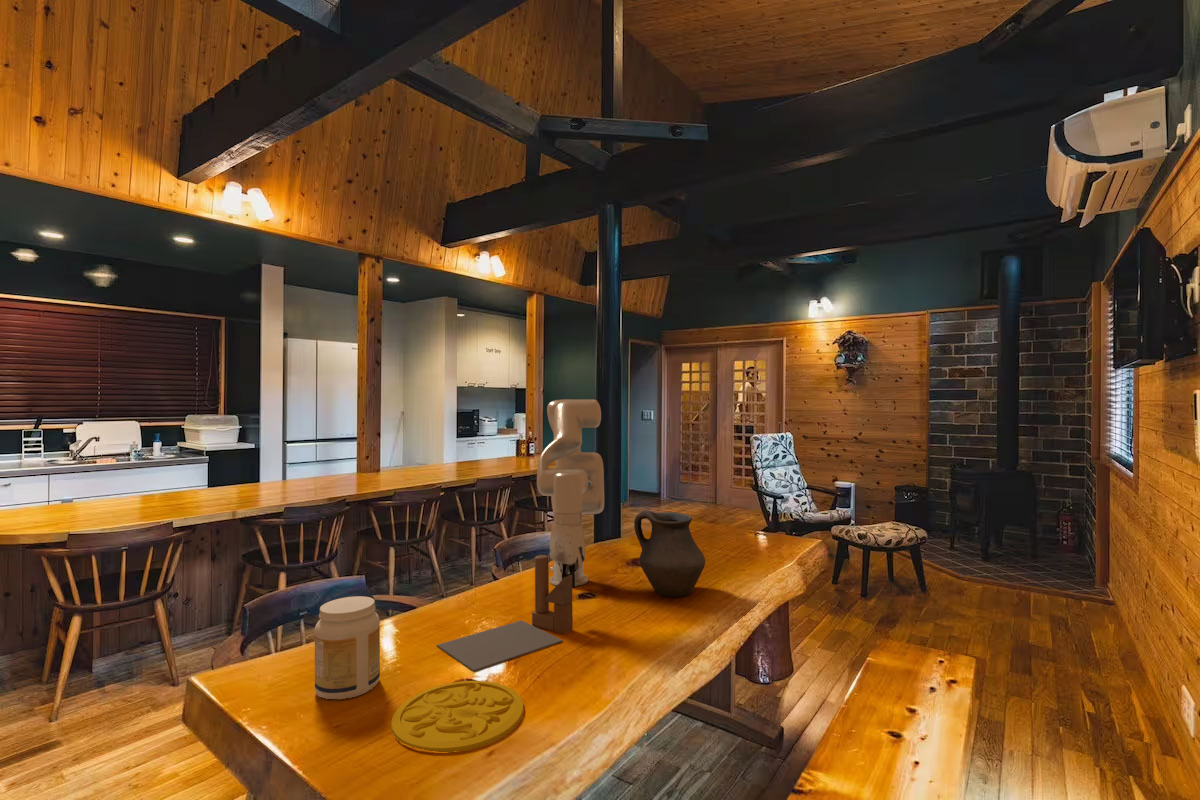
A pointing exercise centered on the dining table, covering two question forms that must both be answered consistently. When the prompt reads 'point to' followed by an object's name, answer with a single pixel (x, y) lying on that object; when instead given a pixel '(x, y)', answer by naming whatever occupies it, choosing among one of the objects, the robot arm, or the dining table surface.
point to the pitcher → (669, 553)
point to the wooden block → (552, 600)
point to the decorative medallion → (458, 716)
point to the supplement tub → (347, 648)
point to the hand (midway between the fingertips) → (568, 587)
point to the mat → (498, 645)
